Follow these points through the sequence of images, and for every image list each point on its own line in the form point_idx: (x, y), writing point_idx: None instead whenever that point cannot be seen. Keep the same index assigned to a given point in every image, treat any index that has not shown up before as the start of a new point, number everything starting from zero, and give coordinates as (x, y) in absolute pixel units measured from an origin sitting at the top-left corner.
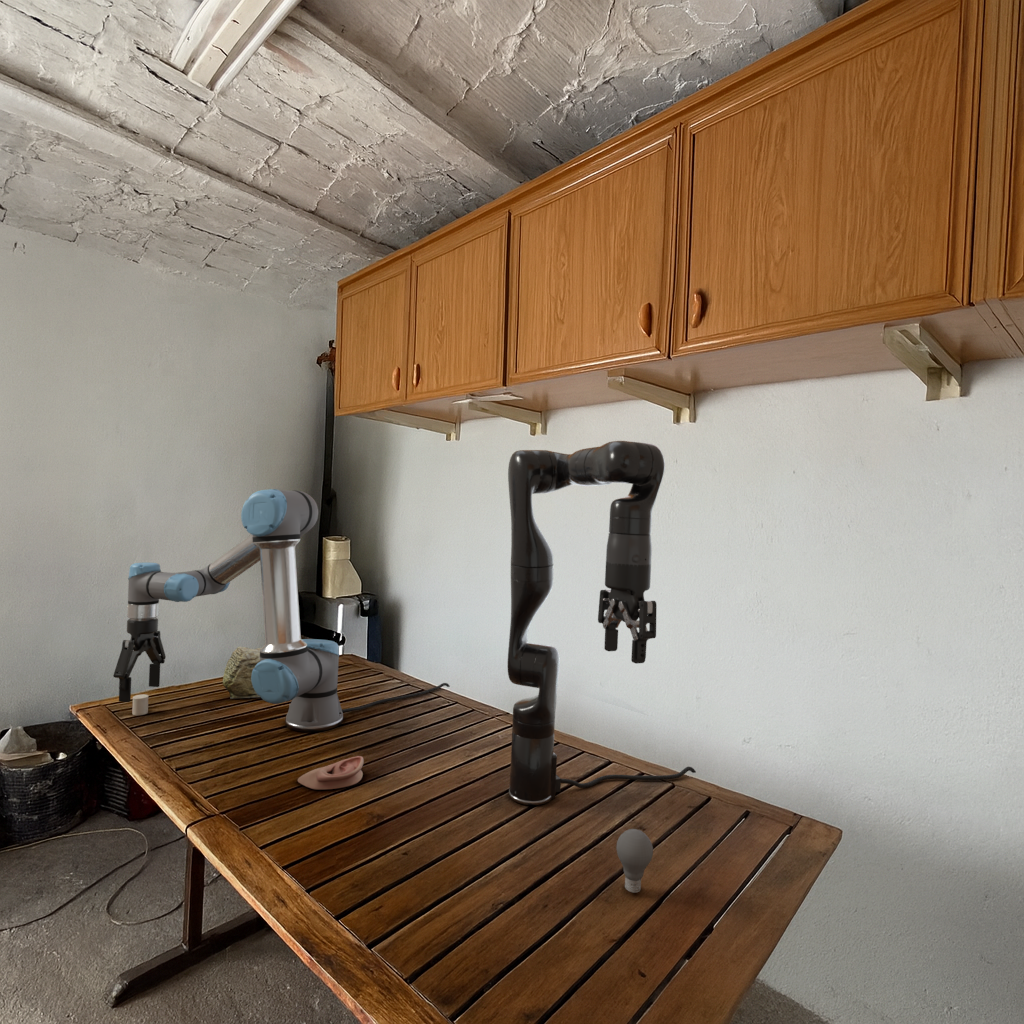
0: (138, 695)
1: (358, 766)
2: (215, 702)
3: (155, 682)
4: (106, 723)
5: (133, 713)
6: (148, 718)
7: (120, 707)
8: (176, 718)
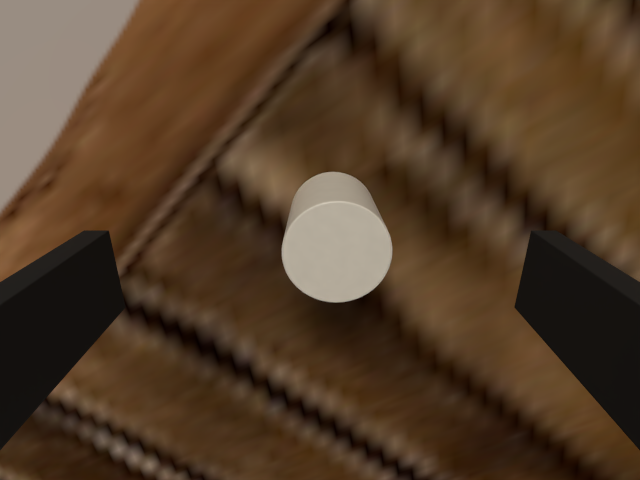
0: (359, 225)
1: None
2: (527, 458)
3: (541, 307)
4: (127, 126)
5: (294, 197)
6: (260, 299)
7: (435, 9)
8: (285, 410)
